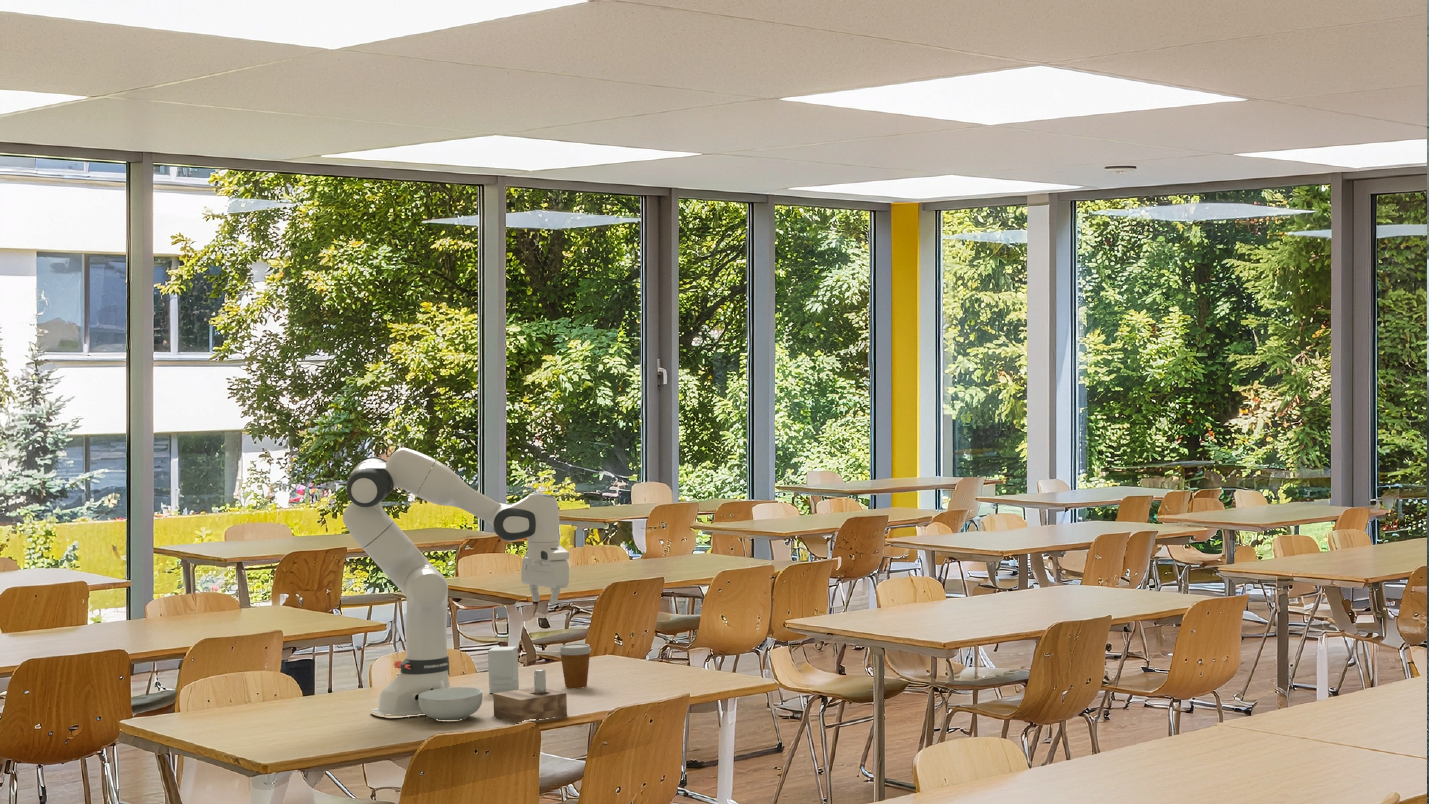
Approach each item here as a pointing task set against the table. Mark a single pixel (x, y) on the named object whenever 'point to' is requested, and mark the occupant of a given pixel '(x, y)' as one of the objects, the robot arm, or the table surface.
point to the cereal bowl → (450, 702)
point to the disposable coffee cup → (575, 664)
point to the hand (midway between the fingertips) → (544, 602)
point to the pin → (540, 682)
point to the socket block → (529, 704)
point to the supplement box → (503, 669)
